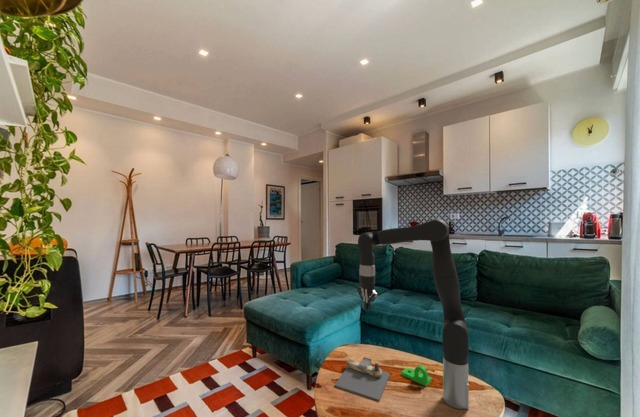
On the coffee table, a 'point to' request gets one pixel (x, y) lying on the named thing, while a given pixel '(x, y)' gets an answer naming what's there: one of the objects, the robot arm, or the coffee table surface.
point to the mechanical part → (417, 375)
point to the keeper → (365, 363)
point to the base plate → (363, 383)
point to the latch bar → (370, 370)
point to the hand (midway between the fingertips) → (367, 309)
